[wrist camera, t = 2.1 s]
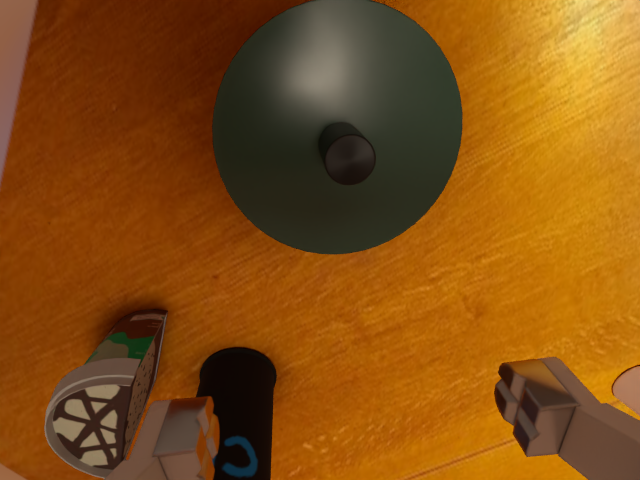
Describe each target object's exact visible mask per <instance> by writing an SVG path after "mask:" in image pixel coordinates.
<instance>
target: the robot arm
mask: <svg viewBox="0 0 640 480" xmlns="http://www.w3.org/2000/svg"><path fill="white" fill-rule="evenodd" d="M498 373H499V375H500V377H501V378H502V379H501V380H500V381H499V382H498V383H497V384H496V385H495V391H494V395H495V401H496V404H497V407H498V410H499V412H500V413H501V415H502V417H503V418H504V419H505V420H506V421H507V422H509V423H510V424H512V425H513V426H514V428H513V435H514V437H515V438H516V440H517V442H518V443H519V445H520V446H521V448H522V450H523V451H524V453H525V455H526V456H527V457H530V456H541V455H551V454H559V455H558V456H559V457H561V458H562V459H563V460H564V461H566V462H567V463H568V464H570V465H571V466H572V467H573V468H575V469H576V470H577V471H578V472H580V473H581V474H582V475H583V476H585V477H586V478H587V479H589V480H640V421H639V420H637V419H635V418H634V417H632V416H630V415H628V414H626V413H624V412H622V411H620V410H618V409H616V408H615V407H613V406H611V405H609V404H607V403H603V404H601V403H600V402H599V401H598V400H597V399H596V398H595V397H594V396H593V395H592V393H591V392H590V391H589V390H588V389H587V388H586V387H585V386H584V385H583V384H582V383H581V382H580V380H579V379H578V378H577V377H576V376H575V375H574V374H573V373H572V372H571V371H570V370H569V368H568V367H567V366H566V365H565V364H564V363H563V362H562V361H561V360H560V359H558V358H557V357H549V358H540V359H530V360H522V361H514V362H506V363H502V364H501V365H500V367H499V371H498ZM213 408H214V403H213V400H212V397H211V396H205V397H194V398H182V399H173V400H162V401H154V402H153V403H152V404H151V406H150V407H149V409H148V412H147V414H146V417H145V419H144V422H143V425H142V427H141V430H140V432H139V435H138V437H137V440H136V443H135V445H134V448H133V450H132V453H131V455H130V458H129V460H125V461H122V462H121V463H120V464H119V465H118V466H117V467H116V468H115V469H114V470H113V471H112V472H111V473H110V474H109V475H108V476H107V477H106V478H105V479H104V480H213V478H214V472H215V469H214V465H213V462H212V460H213V458H214V457H215V456H216V455H217V453H218V448H219V436H220V429H219V422H218V418H217V416H216V415H215V414H213Z"/></svg>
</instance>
